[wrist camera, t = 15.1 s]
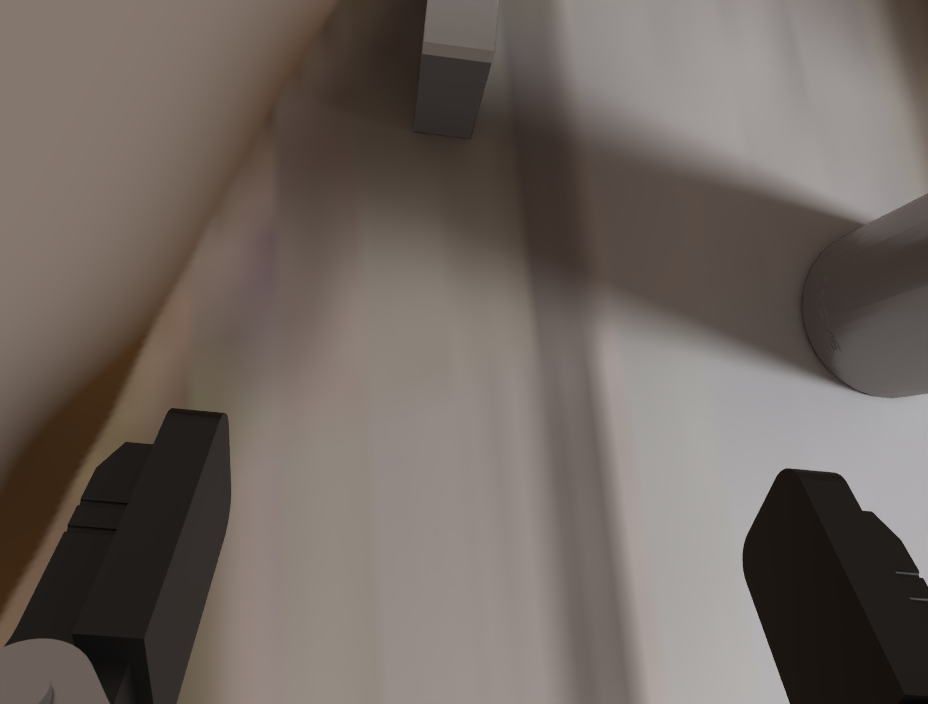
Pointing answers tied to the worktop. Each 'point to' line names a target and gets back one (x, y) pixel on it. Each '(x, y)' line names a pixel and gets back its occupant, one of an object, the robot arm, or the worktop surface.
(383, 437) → the worktop surface
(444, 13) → the block
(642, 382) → the worktop surface
